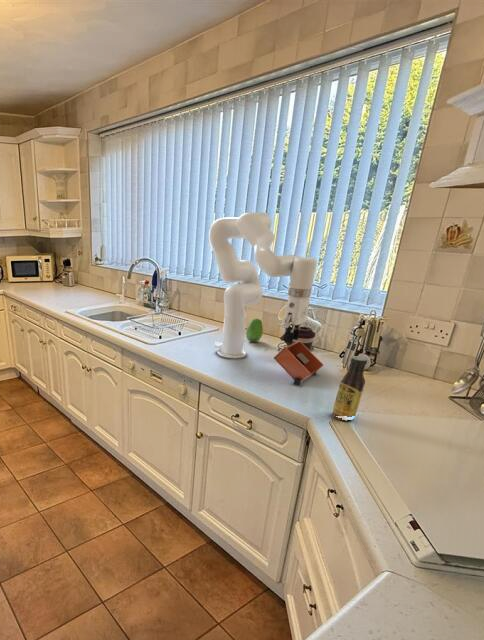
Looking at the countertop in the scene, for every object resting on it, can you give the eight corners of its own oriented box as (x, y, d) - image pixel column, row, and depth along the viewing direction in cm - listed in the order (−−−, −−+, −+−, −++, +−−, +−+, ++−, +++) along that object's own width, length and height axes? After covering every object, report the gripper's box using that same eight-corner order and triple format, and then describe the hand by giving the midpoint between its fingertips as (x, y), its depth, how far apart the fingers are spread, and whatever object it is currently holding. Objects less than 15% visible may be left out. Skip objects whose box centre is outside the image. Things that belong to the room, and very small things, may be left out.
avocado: (262, 344, 195) (265, 320, 191) (245, 343, 197) (248, 319, 192) (260, 339, 202) (263, 316, 198) (244, 339, 204) (247, 316, 200)
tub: (265, 349, 153) (285, 329, 145) (280, 342, 161) (300, 323, 154) (297, 383, 147) (320, 365, 140) (312, 374, 156) (333, 357, 148)
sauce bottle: (327, 415, 124) (340, 355, 116) (341, 411, 126) (355, 352, 118) (345, 424, 118) (360, 362, 110) (360, 420, 120) (376, 359, 112)
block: (288, 362, 152) (296, 355, 149) (293, 359, 155) (301, 352, 152) (296, 371, 151) (305, 363, 148) (301, 368, 154) (309, 361, 150)
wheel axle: (293, 384, 147) (294, 377, 146) (310, 373, 157) (312, 367, 156) (298, 386, 146) (300, 379, 145) (316, 374, 156) (317, 368, 155)
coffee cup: (286, 365, 167) (292, 330, 161) (283, 357, 176) (288, 325, 170) (312, 366, 164) (318, 331, 159) (307, 359, 173) (313, 326, 168)
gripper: (299, 297, 136) (290, 347, 144) (319, 291, 147) (309, 338, 154) (279, 294, 141) (271, 343, 149) (299, 288, 152) (290, 334, 159)
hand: (290, 340), depth 151 cm, fingers closed on tub, 4 cm apart
